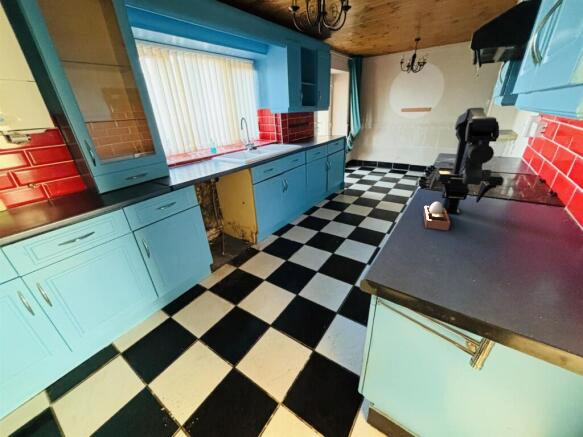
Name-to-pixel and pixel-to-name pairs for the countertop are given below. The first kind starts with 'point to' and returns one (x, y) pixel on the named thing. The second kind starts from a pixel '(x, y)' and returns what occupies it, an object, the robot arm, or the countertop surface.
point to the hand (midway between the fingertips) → (461, 200)
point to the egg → (436, 208)
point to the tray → (435, 223)
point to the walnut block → (437, 216)
